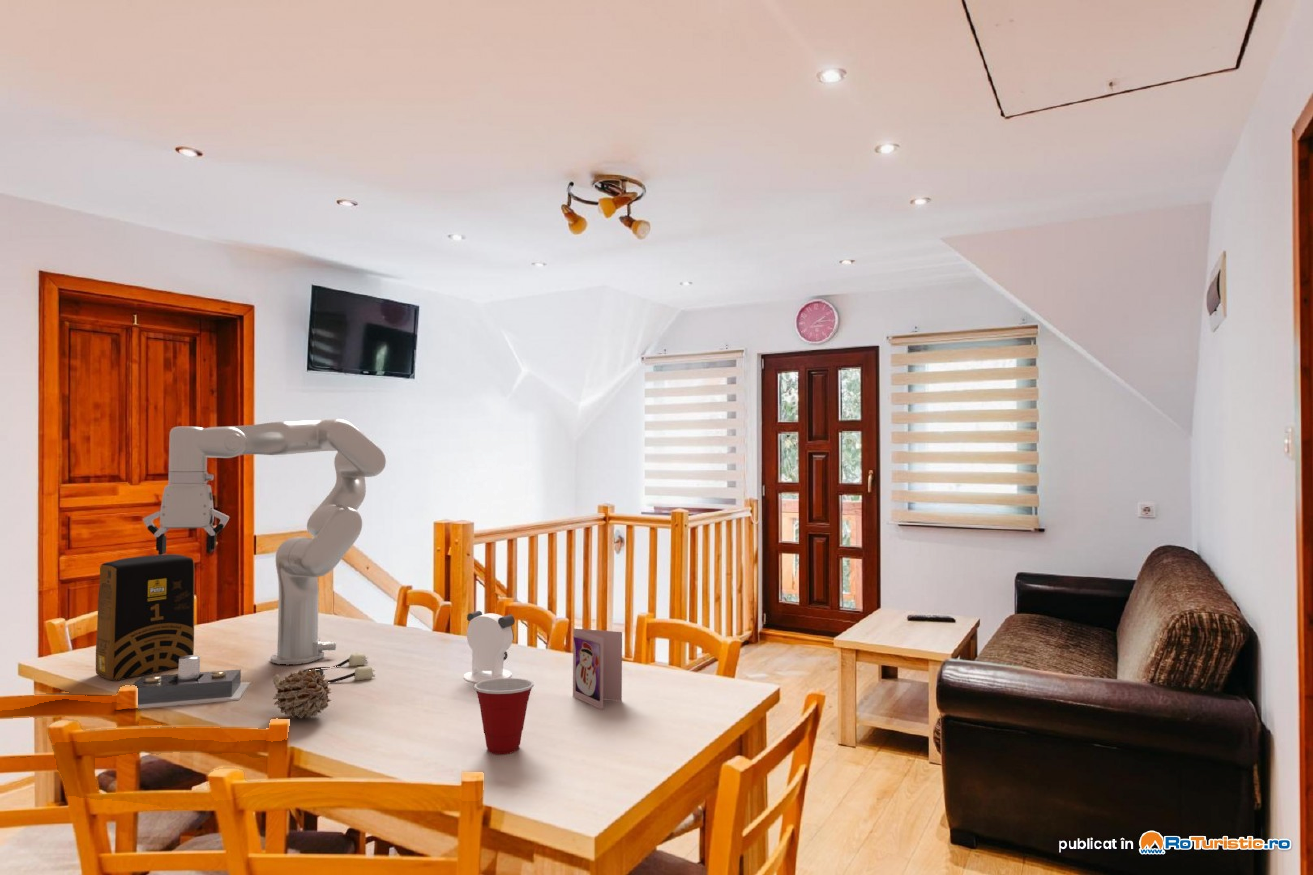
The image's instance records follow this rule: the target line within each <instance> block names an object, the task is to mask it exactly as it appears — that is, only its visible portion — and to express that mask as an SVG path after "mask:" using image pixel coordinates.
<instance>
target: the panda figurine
mask: <svg viewBox="0 0 1313 875" xmlns="http://www.w3.org/2000/svg"><path fill="white" fill-rule="evenodd" d="M466 619H467V621H469V623H468V626H467V631H466V640H467V641H466V642H467V643H468V646H469V647H470V649H471V650H472V652H471V655H472V656H471V657H472V658H471V659H472V660H471V670H470V671H467V672H466V673H464V675H463V679H464V680H465V681H466V682H469V683H472V684H473V683H475V684H476V683H478V682H481V681H485V680H491V679H501V678H512V675H513V673H512V671H510V670H508V669H505V668H504V661H506V660H507V659H508V656H509V655H508V650H509V649H510V647H511V646H512V644H513V642H514V641H515V640H514V639H515V638H514V636H515V635H514V630H513V627H512V626H514V624H515V618H514V616H513V615H512V614H508V615H505V616H504V615H501V614H497V613H492V612H491V613H490V612H489V613H484V614H483V612H482V611H481V610H477V611H474V612H469V613H468V614H467V615H466Z"/></svg>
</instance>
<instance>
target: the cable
mask: <svg viewBox="0 0 1313 875" xmlns="http://www.w3.org/2000/svg"><path fill="white" fill-rule="evenodd" d="M368 659H369V657H367V656H366V654H365V653H352V654H350V655H349V658H347V659H345V660H344V661H342V662H339V663H338V664H336V665H333V666H332V667H335V666H336V667H337V666H340V667H342V666H344V665H345V664H347V663H348V665H349V667H351V666H352V667H356V668H355V670H354V671H353V672H352V673H349V674H347V675H344V676H340V677H337V678H334V679H328V680H329V681H328V682H333V683H335V682H336V681H337V682H339V681H343V680H347V679H349V678H352V677H354V679H355V681H357V680H358V681H365V680H364V679H367V680H372V678H374V677H375V678H376V674H374V672H375V671H376V670H375V669H373V667H372V666H365V665H367V664H369V661H368ZM357 665H364V666H357ZM330 667H331V666H318V667H317V666H316V667H309V668H306V669H303V670H302V671H303V672H305V671H306V670H312V669H321V668H330ZM337 668H338V667H337ZM316 672H320V675H321V676H323V675H324V670H316Z"/></svg>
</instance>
